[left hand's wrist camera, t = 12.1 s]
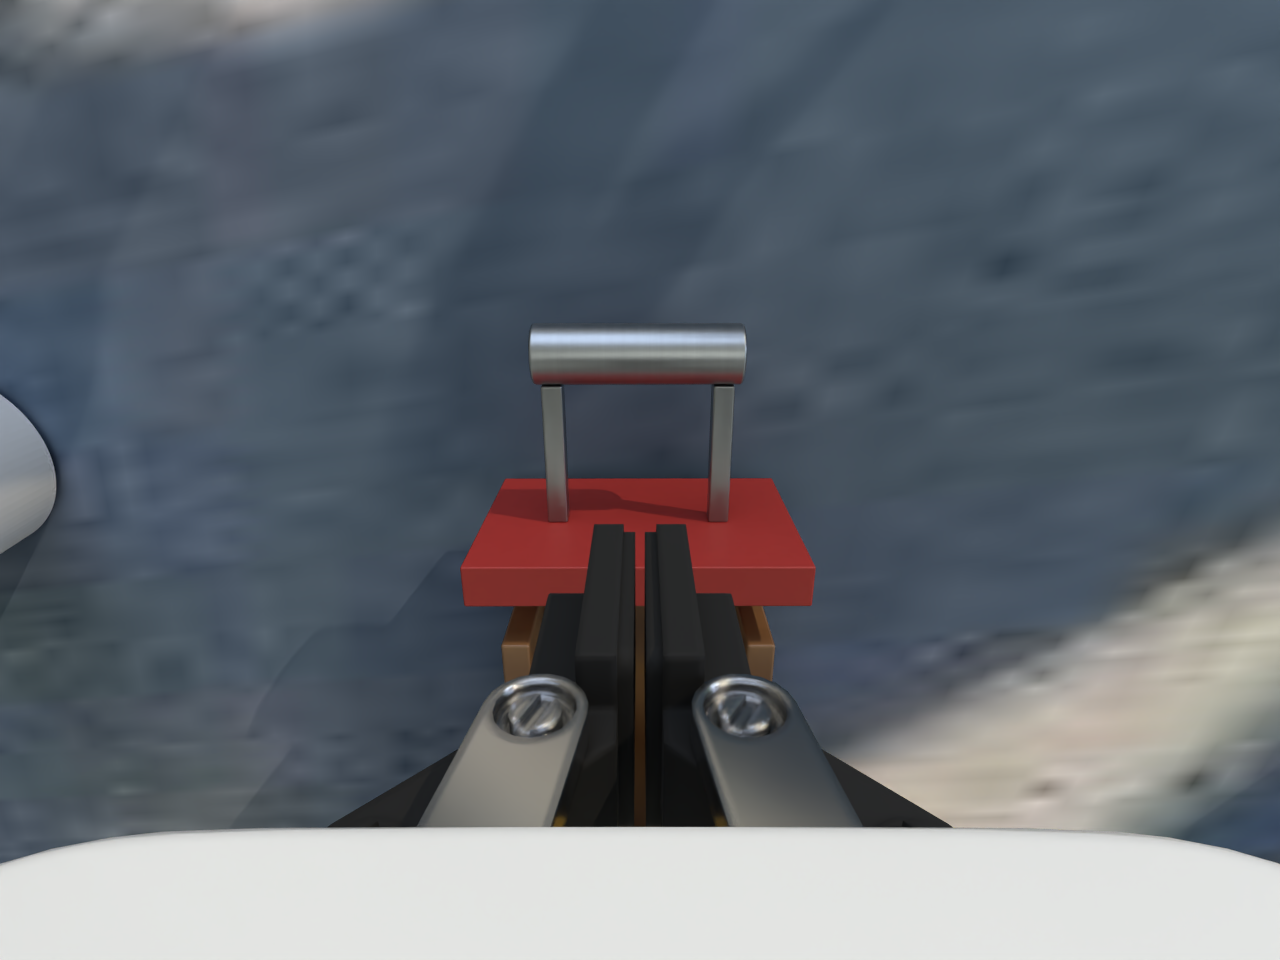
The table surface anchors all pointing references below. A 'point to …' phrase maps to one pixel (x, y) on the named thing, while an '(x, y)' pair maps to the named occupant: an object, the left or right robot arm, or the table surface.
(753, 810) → the left robot arm
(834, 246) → the table surface
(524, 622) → the drawer
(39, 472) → the coffee cup
